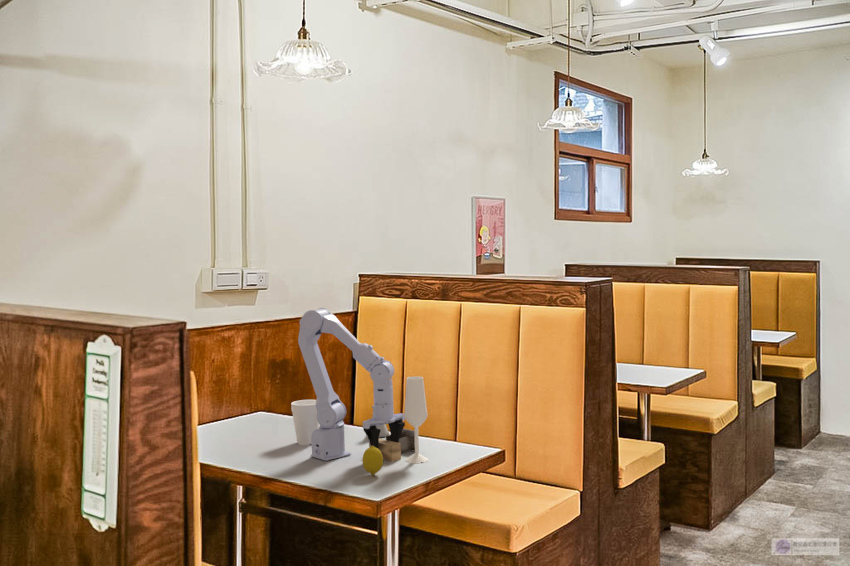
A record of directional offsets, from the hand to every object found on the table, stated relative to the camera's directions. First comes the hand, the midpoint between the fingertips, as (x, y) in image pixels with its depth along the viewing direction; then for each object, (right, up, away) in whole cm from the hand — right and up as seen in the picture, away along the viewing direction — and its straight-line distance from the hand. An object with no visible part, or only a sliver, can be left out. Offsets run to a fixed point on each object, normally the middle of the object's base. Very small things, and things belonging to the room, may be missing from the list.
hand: (385, 448), depth 229 cm
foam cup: (-26, -3, +20) cm, 33 cm away
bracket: (+4, -2, +8) cm, 9 cm away
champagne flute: (+9, -3, -4) cm, 11 cm away
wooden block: (0, -3, 0) cm, 3 cm away
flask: (-4, -2, +27) cm, 28 cm away
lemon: (-2, -4, -18) cm, 18 cm away
